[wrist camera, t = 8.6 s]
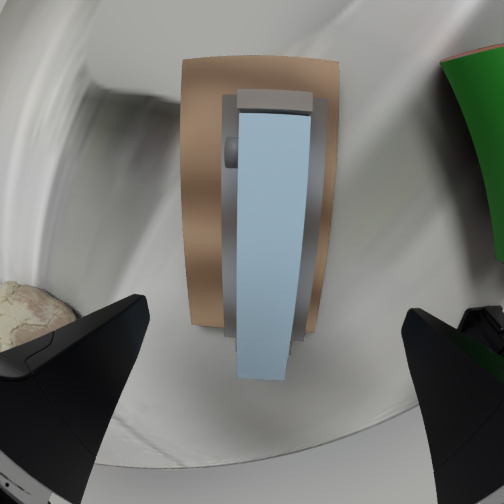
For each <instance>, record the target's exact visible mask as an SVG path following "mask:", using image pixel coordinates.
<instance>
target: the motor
mask: <svg viewBox="0 0 504 504" xmlns="http://www.w3.org/2000/svg"><path fill="white" fill-rule="evenodd" d="M440 65H441V67H442V68H443V70H444V72H445V74H446V76H447V78H448V80H449V82H450V85H451V87H452V89H453V91H454V93H455V96H456V98H457V100H458V103H459V105H460V107H461V110H462V112H463V115H464V118H465V120H466V123H467V126H468V128H469V131H470V134H471V137H472V140H473V143H474V147H475V150H476V153H477V157H478V160H479V164H480V168H481V172H482V176H483V180H484V184H485V189H486V194H487V199H488V204H489V210H490V216H491V223H492V230H493V239H494V249H495V258H496V259H497V260H499V261H500V262H502V263H504V43H502V44H497V45H492V46H488V47H484V48H479V49H477V50H473V51H469V52H466V53H462V54H459V55H456V56H453V57H450V58H447V59H444V60H442V61H440Z"/></svg>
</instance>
